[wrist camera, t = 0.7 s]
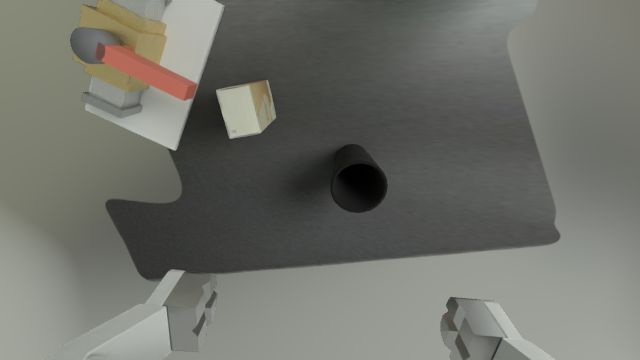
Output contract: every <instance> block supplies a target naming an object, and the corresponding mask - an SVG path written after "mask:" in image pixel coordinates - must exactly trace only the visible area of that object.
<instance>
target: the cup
mask: <svg viewBox="0 0 640 360" xmlns="http://www.w3.org/2000/svg"><path fill="white" fill-rule="evenodd" d="M387 186H388V185H387V179H386V176H385V174H384V173H383V171H382V170H381V169H380V168H379V166H378V165H377V164H376V163H375V162H374V160H373V159H372V158H371V157H370V155H369V154H368V153H367V152H366V151H365V149H364V148H362V147H361V146H359V145H356V144H349V145H346V146H344V147H343V148H341V149H340V150H339V152H338V153H337V156H336V160H335V165H334V170H333V175H332V180H331V194H332V197H333V199H334V201H335V202H336V203H337V204H338V205H339V206H340V207H341V208H343V209H344V210H347V211H349V212H355V213H361V212H366V211H370V210H372V209H373V208H375V207H377V206H378V205H379V204H380V203H381V202H382V200H383V199H384V198H385V195H386V192H387Z"/></svg>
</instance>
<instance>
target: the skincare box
mask: <svg viewBox="0 0 640 360" xmlns="http://www.w3.org/2000/svg"><path fill="white" fill-rule="evenodd" d="M216 93H217V97H218V100H219V104H220V107H221V111H222V115H223V118H224V121H225V125H226V128H227V132H228V135H229V138H230V139H231V138H238V137H244V136H250V135H255V134H260V133H261V132H262V131H263V130H264V129H265V128H266V127H267V126H268V125H269V124H270V123H271V122H272V121H273V120H274V119H275V118H276V113H275V108H274V103H273V98H272V94H271V90H270V86H269V82H268V80H262V81H256V82H250V83H245V84H240V85H236V86H231V87H227V88H222V89H217V90H216Z"/></svg>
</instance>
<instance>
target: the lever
mask: <svg viewBox="0 0 640 360" xmlns="http://www.w3.org/2000/svg"><path fill="white" fill-rule="evenodd" d="M70 41H71V42H70V43H71V47H72V50H73V51H74V53H75V54H76V56H77V57H78V58H79V59H80V60H82V61H84V62H86V63H88V64H108V65H110V66H112V67H114V68H116V69H118V70H120V71H122V72H124V73H126V74H129V75H131V76H133V77H135V78H137V79H139V80H141V81H143V82H145V83H147V84H149V85H151V86H153V87H155V88H158V89H160V90H162V91H164V92H166V93H168V94H170V95H172V96H174V97H176V98H178V99H180V100H182V101H185V100H188V99H191V98H193V97H194V94H195V91H196V88H197V85H198V84H197V83H195V82H193V81H191V80H189V79H187V78H185V77H183V76H181V75H179V74H177V73H175V72H173V71H171V70H169V69H167V68H165V67H162V66H160V65H158V64H156V63H154V62H152V61H150V60H148V59H146V58H144V57H142V56H140V55H138V54H136V53H134V52H132V51H130V50H128V49H126V48H124V47H122V46H120V43H119V41H118V39H117V38H116V37H115V36H114V35H113V34H112V33H111V32H109V31H107V30H104V29H97V28H88V27H79V28H77V29H75V30H74V31H73V33H72V35H71V39H70Z"/></svg>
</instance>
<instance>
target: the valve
mask: <svg viewBox="0 0 640 360" xmlns="http://www.w3.org/2000/svg"><path fill="white" fill-rule="evenodd" d="M166 1H168V2H172V0H98V4H97V7H93V6H88V5H83V6H82V11H81V17H80V23H79V27H88V28H97V29H104V30H107V31H109V32H111V33H112V34H113V35H114V36H115V37H116V38H117V39H118V41H119V43H120V46H122V47H124V48H126V49H128V50H130V51H132V52H134V53H136V54H138V55H140V56H142V57H144V58H146V59H148V60H150V61H152V62H154V63H156V64H158V65H159V64H160V61H161V57H162V54H163V50H164V47H165V43H166V40H167V36H165V35H164V33H165V30H166V26H167V24H165V23H163V22H161V18H162V14H163V10H164V7H165V3H166ZM73 60H75V61H77V62H79V63H81V64H83V65H85V72H86V73H88V74H90V75H92V76H94V78H93V83H92V88H91V92H85V93H83V95H82V101H83V102H86V103H88V104H90V105H92V106H94V107H96V108H99V109H101V110H103V111H105V112H107V113H110V114H112V115H114V116H116V117H118V118H120V119H121V118H124V117H127V116H130V115H134V114H137V113H140V112H141V111H142V107H143V105H141V104H139V99H140V96H141V92H142V90H144V89H149V87H150V85H149V84H147V83H145V82H143V81H141V80H139V79H137V78H135V77H133V76H131V75H129V74H126V73H124V72H122V71H120V70H118V69H116V68H114V67H112V66H110V65H108V64H88V63H86V62H84V61H82V60H80V59H79V58H78V57H77V56H76V54H75V53H74V57H73Z"/></svg>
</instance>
